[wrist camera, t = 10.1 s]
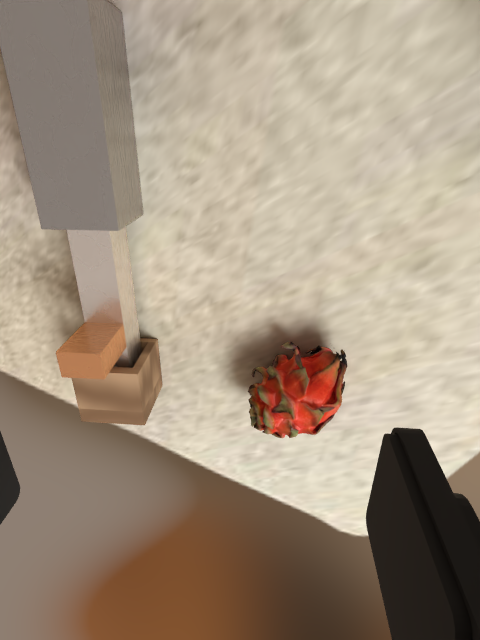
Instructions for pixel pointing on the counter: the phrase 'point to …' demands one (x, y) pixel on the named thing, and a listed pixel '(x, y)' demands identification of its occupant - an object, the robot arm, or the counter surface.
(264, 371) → the dragon fruit
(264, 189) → the counter surface
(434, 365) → the counter surface
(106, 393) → the socket block
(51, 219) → the sleeve
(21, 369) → the counter surface
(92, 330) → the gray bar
